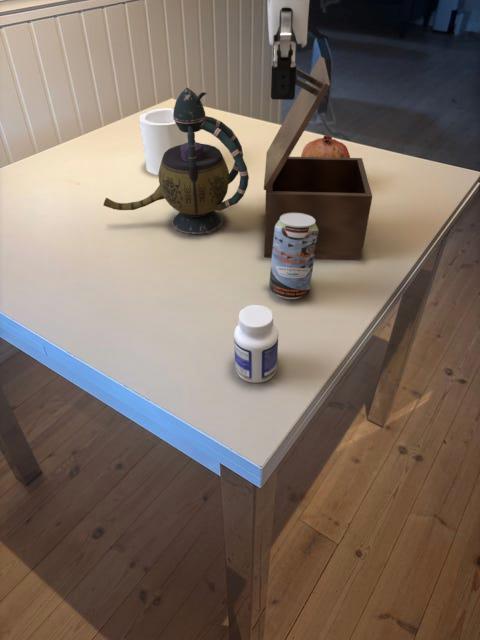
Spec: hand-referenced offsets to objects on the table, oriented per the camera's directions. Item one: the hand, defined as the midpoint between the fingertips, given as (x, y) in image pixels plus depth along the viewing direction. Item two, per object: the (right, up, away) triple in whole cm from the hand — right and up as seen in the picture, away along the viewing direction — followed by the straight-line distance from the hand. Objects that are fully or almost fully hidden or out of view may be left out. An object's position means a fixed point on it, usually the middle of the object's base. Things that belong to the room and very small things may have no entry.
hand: (282, 88), depth 69 cm
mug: (-22, +2, +39) cm, 45 cm away
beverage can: (+1, -29, +4) cm, 29 cm away
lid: (+2, -4, +3) cm, 6 cm away
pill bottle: (-4, -39, -8) cm, 40 cm away
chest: (+6, -19, +16) cm, 25 cm away
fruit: (+11, -6, +31) cm, 33 cm away
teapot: (-17, -16, +20) cm, 31 cm away
